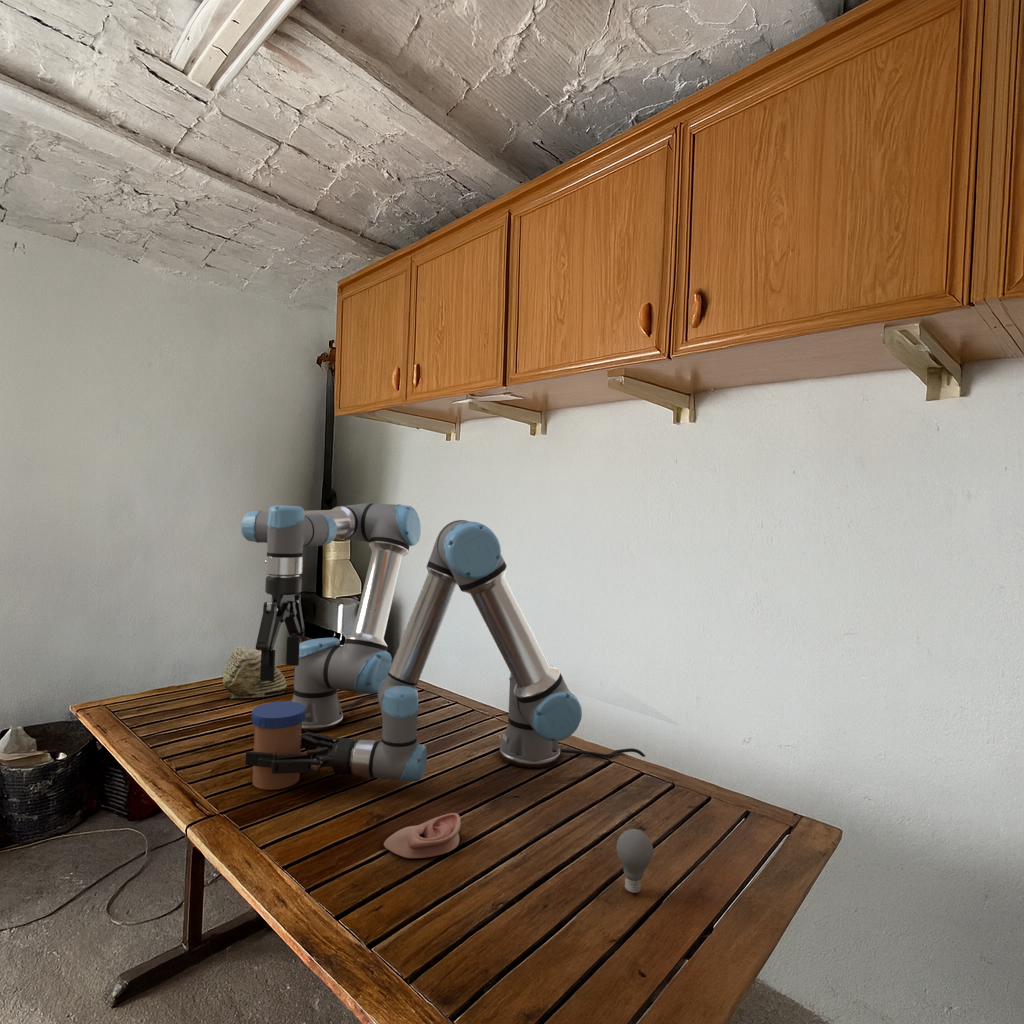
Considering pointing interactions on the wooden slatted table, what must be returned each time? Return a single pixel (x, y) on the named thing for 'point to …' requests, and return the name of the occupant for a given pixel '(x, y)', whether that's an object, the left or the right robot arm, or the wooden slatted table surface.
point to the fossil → (250, 676)
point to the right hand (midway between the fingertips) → (259, 748)
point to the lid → (278, 714)
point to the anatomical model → (426, 838)
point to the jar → (282, 744)
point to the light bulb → (634, 857)
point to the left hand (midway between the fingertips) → (280, 672)
